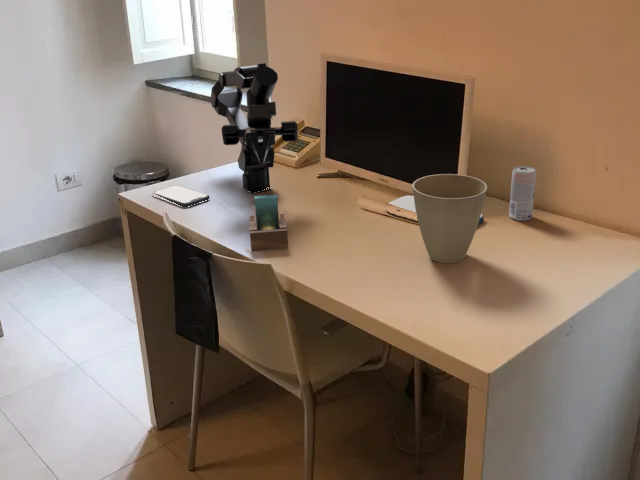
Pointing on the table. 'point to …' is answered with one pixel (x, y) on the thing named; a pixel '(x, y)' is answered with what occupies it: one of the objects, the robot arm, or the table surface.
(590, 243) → the table surface
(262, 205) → the teal upright block
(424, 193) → the plant pot
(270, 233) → the walnut track with socket
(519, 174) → the energy drink
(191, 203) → the phone case
